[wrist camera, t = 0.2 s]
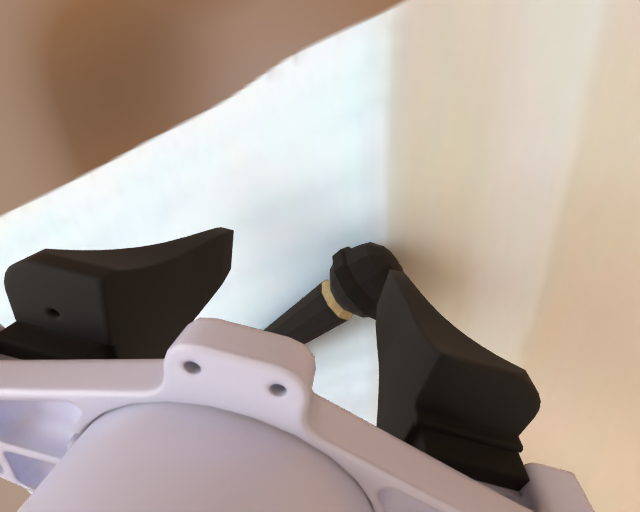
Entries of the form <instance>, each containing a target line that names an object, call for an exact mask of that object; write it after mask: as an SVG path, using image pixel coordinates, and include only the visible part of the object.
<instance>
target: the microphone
mask: <svg viewBox="0 0 640 512" xmlns="http://www.w3.org/2000/svg"><path fill="white" fill-rule="evenodd" d="M390 269H392V270H396V271H400V272H403V269H402V267H401V265H400V264H399V262H398V261H397V259H396V258H395V257H394V255H393V254H392V253H391V252H390V251H389V250H388V249H387V248H385V247H384V246H381V245H377V244H374V243H371V242H369V243H366V244H362V245H359V246H356V247H354V248H350V247H346V248H343V249H340V250H339V251H338V252H337V253H336V254H335V255H333V265H332V267H331V269H330V280H325V281H324V282H322V283H321V284H319V285H318V286H317V287H316V288H314V289H313V290H312V291H311V292H310V293H308V294H307V295H306V296H305V297H304V298H302V299H301V300H300V301H299V302H297V303H296V304H295V305H294V306H293V307H291V308H290V309H289V310H288V311H286V312H285V313H284V314H283V315H282V316H280V317H279V318H278V319H277V320H276V321H274V322H273V323H272V324H271V325H269V326H268V327H267V328H266V329H265V330H264V331H267V332H271V333H275V334H279V335H283V336H287V337H290V338H292V339H294V340H296V341H298V342H300V343H302V344H305V343H307V342H309V341H311V340H313V339H315V338H316V337H318V336H320V335H322V334H324V333H326V332H327V331H329V330H331V329H333V328H335V327H337V326H338V325H340V324H342V323H344V322H346V321H348V320H349V319H350V317H351V316H352V314H355V315H358V316H360V317H371V318H373V319H375V320H376V311H377V304H378V301H379V298H380V296H381V293H382V290H383V287H384V285H385V282H386V279H387V276H388V274H389V271H390Z"/></svg>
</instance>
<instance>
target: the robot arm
mask: <svg viewBox="0 0 640 512" xmlns="http://www.w3.org/2000/svg"><path fill="white" fill-rule="evenodd" d="M233 233H234V230H230V229H226V228H222V227H219V228H214V229H211V230H207V231H204V232H201V233H197V234H194V235H191V236H187V237H184V238H180V239H176V240H172V241H168V242H164V243H160V244H155V245H149V246H143V247H135V248H125V249H115V250H58V249H44V250H41V251H39V252H37V253H35V254H33V255H31V256H29V257H27V258H25V259H23V260H21V261H19V262H16V263H15V264H13V265H11V266H9V268H8V269H7V271H6V272H5V278H4V285H5V290H6V293H7V296H8V299H9V302H10V305H11V308H12V310H13V313H14V316H15V319H16V322H14V323H13V324H11V325H10V326H8V327H7V328H4V327H3V326H2V325H1V324H0V477H1V478H3V479H5V480H8V481H10V482H12V483H15V484H17V485H19V486H22V487H24V488H26V489H28V490H31V491H33V493H32V494H31V496H30V497H29V498H28V499H27V500H26V502H25V503H24V504H23V505H22V506H21V507H20V509H19V510H18V511H17V512H594V510H593V508H592V506H591V505H590V503H589V501H588V499H587V497H586V495H585V493H584V492H583V490H582V488H581V486H580V484H579V482H578V481H577V479H576V477H575V475H574V474H573V473H571V472H569V471H565V470H561V469H557V468H553V467H550V466H546V465H542V464H538V463H528V464H525V465H523V462H522V460H521V458H520V455H519V453H518V452H520V453H521V452H522V451H523V446H522V444H521V441H520V439H519V437H518V436H519V435H520V434H521V433H522V431H523V430H524V429H525V428H526V427H527V426H528V424H529V423H530V422H531V421H532V420H533V419H534V417H535V416H536V414H537V412H538V411H539V409H540V402H541V401H540V397H539V393H538V391H537V390H536V388H535V386H534V384H533V383H532V381H531V379H530V377H529V376H528V374H527V372H526V370H524V369H522V368H520V367H518V366H516V365H514V364H512V363H510V362H508V361H507V360H505V359H503V358H501V357H499V356H497V355H495V354H494V353H492V352H491V351H489V350H487V349H486V348H484V347H482V346H481V345H479V344H478V343H476V342H475V341H473V340H472V339H470V338H469V337H468V336H466V335H465V334H464V333H462V332H461V331H460V330H458V329H457V328H456V327H455V326H453V325H452V324H451V323H450V322H449V321H448V320H446V319H445V318H444V317H443V316H442V315H441V314H440V313H439V312H438V311H437V310H436V309H435V308H434V307H433V306H432V305H431V304H430V303H429V302H428V301H427V299H426V298H425V297H424V296H423V295H422V294H421V293H420V291H419V290H418V289H417V288H416V286H415V285H414V284H413V283H412V281H411V280H410V279H409V278H408V277H407V275H406V274H405V273H404V272H400V271H396V270H392V269H390V271H389V274H388V276H387V279H386V282H385V285H384V287H383V290H382V293H381V296H380V298H379V301H378V304H377V311H376V336H377V349H378V361H379V394H378V413H377V427H376V426H374V425H372V424H370V423H369V422H367V421H365V420H363V419H361V418H359V417H358V416H356V415H354V414H352V413H350V412H348V411H347V410H345V409H343V408H341V407H339V406H337V405H336V404H334V403H332V402H330V401H328V400H326V399H325V398H323V397H321V396H319V395H317V394H315V393H314V392H313V390H312V385H313V380H314V375H315V370H316V368H315V357H314V355H313V354H312V353H311V352H310V350H309V349H308V348H307V347H306V346H305V345H304V344H302V343H300V342H298V341H296V340H294V339H292V338H290V337H287V336H283V335H279V334H275V333H271V332H267V331H264V330H260V329H256V328H252V327H248V326H244V325H240V324H236V323H232V322H228V321H224V320H221V319H217V318H199V319H197V320H195V321H193V320H194V319H195V318H196V317H197V315H198V314H199V313H200V312H201V310H202V309H203V308H204V307H205V305H206V304H207V303H208V302H209V300H210V299H211V298H212V297H213V295H214V294H215V293H216V292H217V290H218V289H219V288H220V287H221V285H222V284H223V282H224V280H225V279H226V277H227V275H228V273H229V271H230V269H231V260H232V247H233Z"/></svg>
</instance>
